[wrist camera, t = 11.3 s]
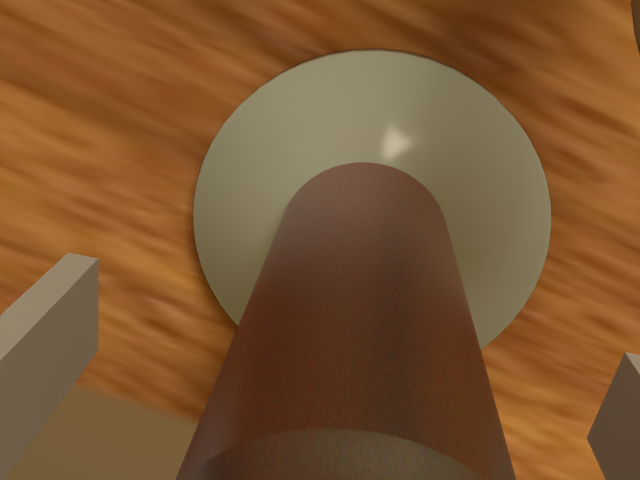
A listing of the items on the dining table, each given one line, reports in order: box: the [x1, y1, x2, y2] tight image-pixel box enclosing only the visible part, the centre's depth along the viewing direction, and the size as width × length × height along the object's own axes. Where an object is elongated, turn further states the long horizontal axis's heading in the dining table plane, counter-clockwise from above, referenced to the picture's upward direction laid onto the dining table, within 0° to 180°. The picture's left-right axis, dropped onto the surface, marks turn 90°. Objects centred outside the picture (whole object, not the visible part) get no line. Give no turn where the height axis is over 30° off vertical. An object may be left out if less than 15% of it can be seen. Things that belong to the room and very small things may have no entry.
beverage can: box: [176, 162, 516, 480], centre depth 15 cm, size 6×6×15 cm
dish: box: [193, 48, 551, 349], centre depth 23 cm, size 13×13×1 cm
